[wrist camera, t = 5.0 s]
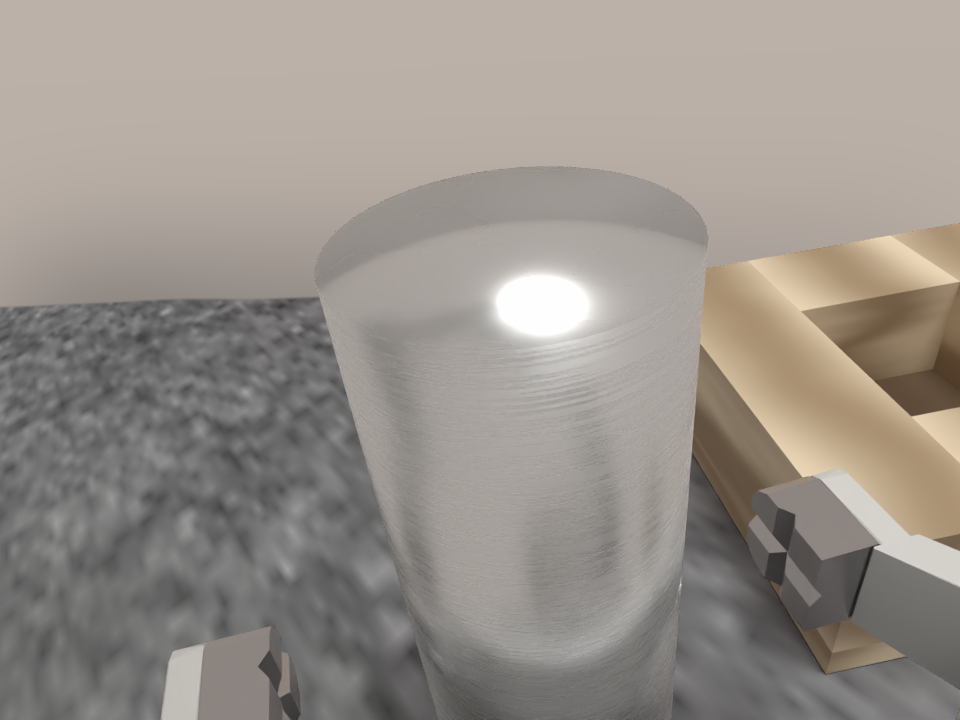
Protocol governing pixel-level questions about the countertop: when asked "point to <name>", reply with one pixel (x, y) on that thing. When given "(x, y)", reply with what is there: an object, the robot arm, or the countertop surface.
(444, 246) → the pin
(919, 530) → the socket block
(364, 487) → the countertop surface
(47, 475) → the countertop surface
